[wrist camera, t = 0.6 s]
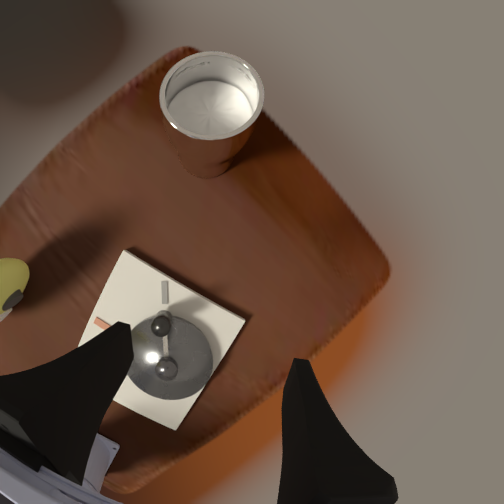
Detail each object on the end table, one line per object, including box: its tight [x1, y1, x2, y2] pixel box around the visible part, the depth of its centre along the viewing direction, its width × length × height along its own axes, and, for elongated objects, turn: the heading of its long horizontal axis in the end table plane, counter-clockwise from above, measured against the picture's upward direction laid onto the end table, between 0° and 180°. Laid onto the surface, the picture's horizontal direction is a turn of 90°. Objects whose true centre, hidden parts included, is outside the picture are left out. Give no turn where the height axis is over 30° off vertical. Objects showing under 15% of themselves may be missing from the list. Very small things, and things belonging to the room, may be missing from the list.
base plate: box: [78, 250, 245, 430], centre depth 31 cm, size 17×15×1 cm
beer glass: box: [159, 51, 264, 178], centre depth 24 cm, size 7×7×15 cm
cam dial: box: [127, 310, 213, 400], centre depth 29 cm, size 11×10×4 cm
